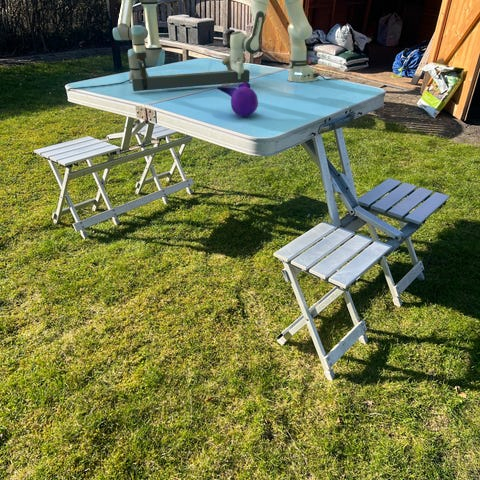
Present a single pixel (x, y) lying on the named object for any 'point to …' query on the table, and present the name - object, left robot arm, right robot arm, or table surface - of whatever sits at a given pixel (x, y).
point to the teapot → (227, 62)
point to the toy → (242, 99)
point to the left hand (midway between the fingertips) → (144, 88)
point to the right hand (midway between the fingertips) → (237, 78)
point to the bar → (190, 80)
